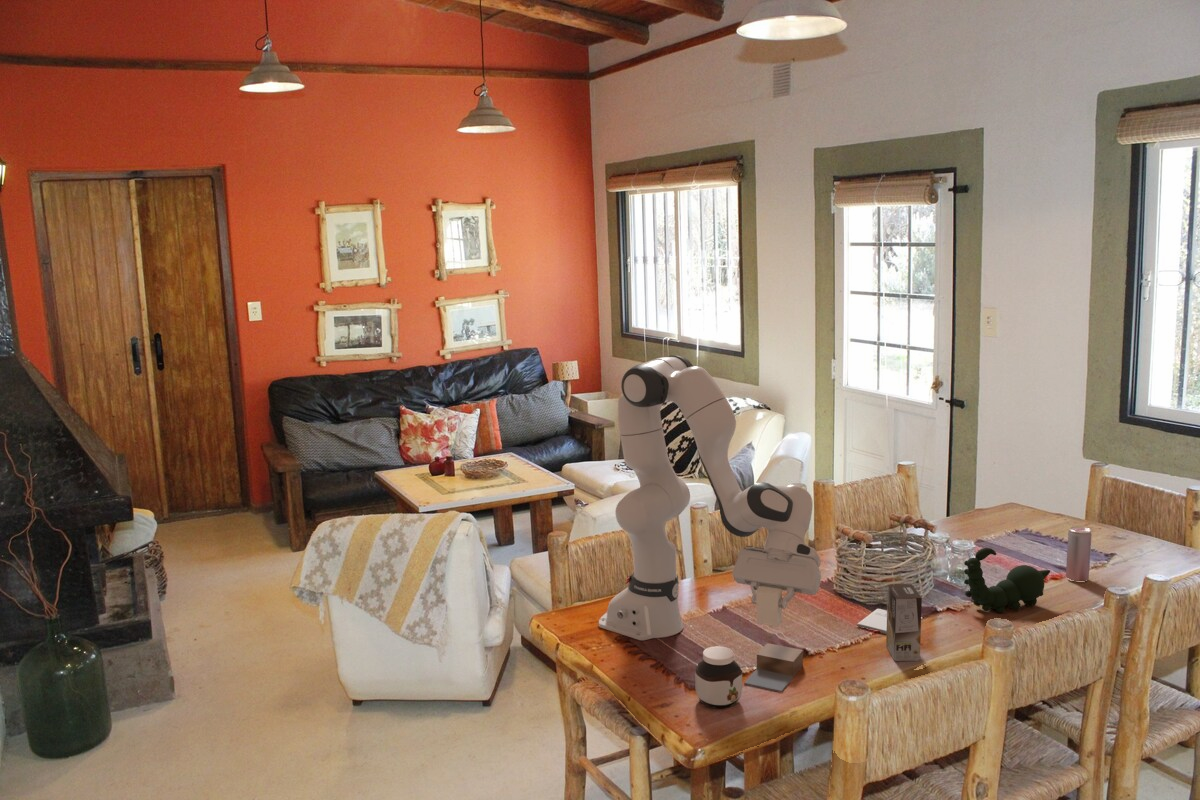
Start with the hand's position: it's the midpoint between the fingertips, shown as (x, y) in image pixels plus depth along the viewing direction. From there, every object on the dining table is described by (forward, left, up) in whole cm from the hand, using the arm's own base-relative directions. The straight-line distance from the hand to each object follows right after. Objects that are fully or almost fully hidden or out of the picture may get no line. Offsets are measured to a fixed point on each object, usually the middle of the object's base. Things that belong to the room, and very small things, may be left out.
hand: (768, 605), depth 232 cm
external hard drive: (+15, +44, -20) cm, 51 cm away
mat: (0, +1, -19) cm, 19 cm away
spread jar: (-8, -11, -19) cm, 24 cm away
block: (0, +1, -5) cm, 5 cm away
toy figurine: (+42, +68, -19) cm, 83 cm away
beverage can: (+57, +98, -19) cm, 115 cm away
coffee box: (+24, +29, -19) cm, 42 cm away
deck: (0, +8, -19) cm, 21 cm away
